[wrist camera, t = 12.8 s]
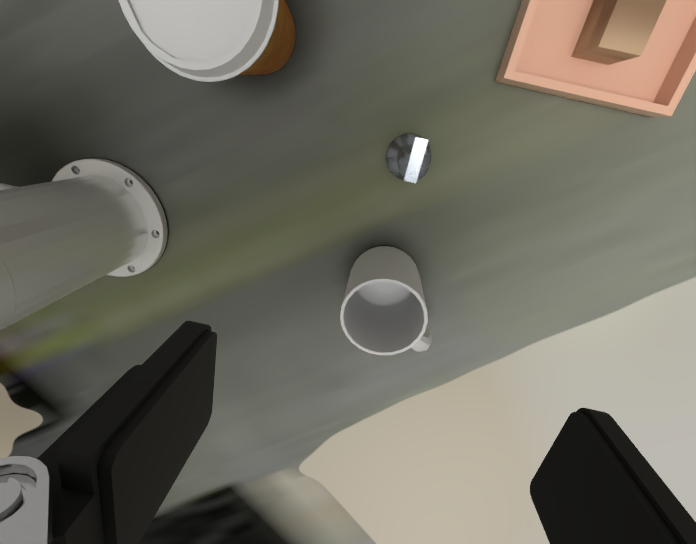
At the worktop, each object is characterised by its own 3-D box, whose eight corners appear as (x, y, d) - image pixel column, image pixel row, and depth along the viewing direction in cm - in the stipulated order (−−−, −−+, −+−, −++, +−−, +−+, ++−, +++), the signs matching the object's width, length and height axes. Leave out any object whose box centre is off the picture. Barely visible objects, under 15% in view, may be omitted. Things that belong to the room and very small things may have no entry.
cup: (387, 230, 36) (386, 261, 28) (450, 297, 38) (467, 344, 30) (336, 274, 38) (322, 314, 30) (398, 335, 40) (401, 389, 32)
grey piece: (381, 173, 34) (379, 187, 26) (392, 129, 32) (393, 130, 25) (423, 183, 34) (433, 200, 26) (435, 139, 32) (450, 143, 25)
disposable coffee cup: (207, -47, 29) (95, -154, 18) (322, -24, 29) (281, -118, 18) (204, 83, 33) (109, 62, 22) (305, 104, 32) (263, 94, 21)
